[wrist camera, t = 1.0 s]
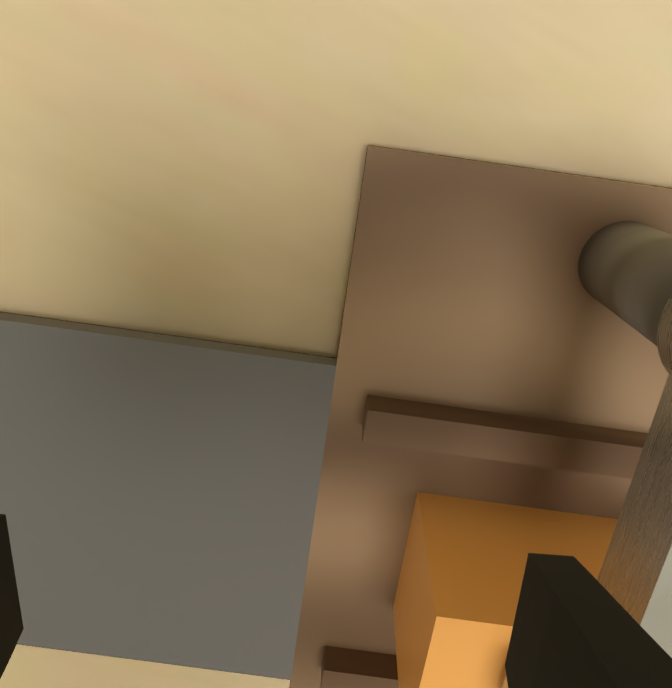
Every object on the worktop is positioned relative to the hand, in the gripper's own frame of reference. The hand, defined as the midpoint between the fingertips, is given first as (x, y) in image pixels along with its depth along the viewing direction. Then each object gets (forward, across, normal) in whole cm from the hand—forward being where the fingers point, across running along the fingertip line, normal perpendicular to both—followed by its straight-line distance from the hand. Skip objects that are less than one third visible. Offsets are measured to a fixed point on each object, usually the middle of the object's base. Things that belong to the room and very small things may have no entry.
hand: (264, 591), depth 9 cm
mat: (+10, +7, +6) cm, 13 cm away
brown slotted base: (+10, -7, +4) cm, 13 cm away
